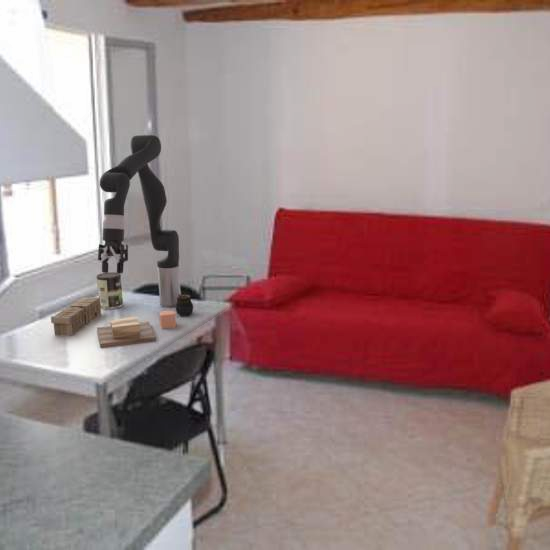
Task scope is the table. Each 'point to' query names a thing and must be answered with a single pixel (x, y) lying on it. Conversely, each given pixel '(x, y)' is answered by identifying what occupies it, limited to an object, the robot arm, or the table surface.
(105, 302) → the coffee can
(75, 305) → the brown long block
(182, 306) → the mate gourd
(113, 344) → the walnut base
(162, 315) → the terracotta cube
